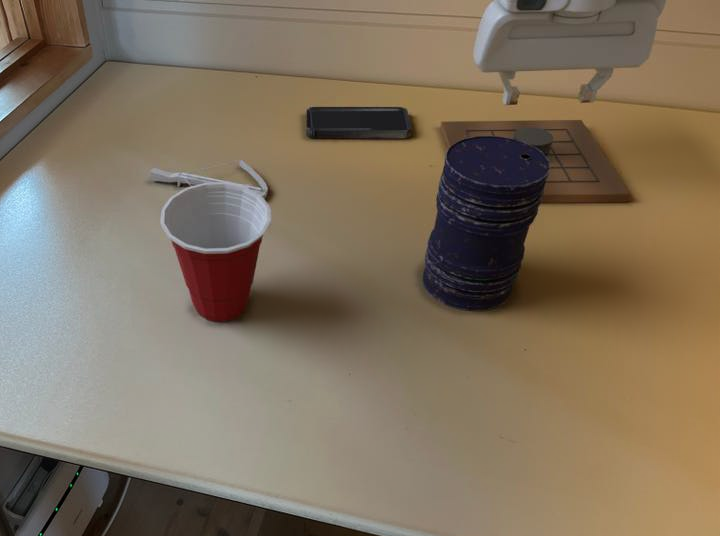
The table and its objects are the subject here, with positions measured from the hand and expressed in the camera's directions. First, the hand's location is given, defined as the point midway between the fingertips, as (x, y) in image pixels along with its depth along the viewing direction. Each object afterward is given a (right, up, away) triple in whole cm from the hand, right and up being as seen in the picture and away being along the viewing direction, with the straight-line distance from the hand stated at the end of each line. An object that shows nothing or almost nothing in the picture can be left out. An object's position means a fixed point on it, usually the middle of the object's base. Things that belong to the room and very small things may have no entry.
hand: (547, 102), depth 90 cm
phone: (-22, +2, +15) cm, 26 cm away
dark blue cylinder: (-14, -24, -12) cm, 30 cm away
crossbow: (-43, -10, +4) cm, 45 cm away
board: (0, -6, +6) cm, 9 cm away
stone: (0, -5, +5) cm, 7 cm away
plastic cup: (-41, -27, -13) cm, 51 cm away
